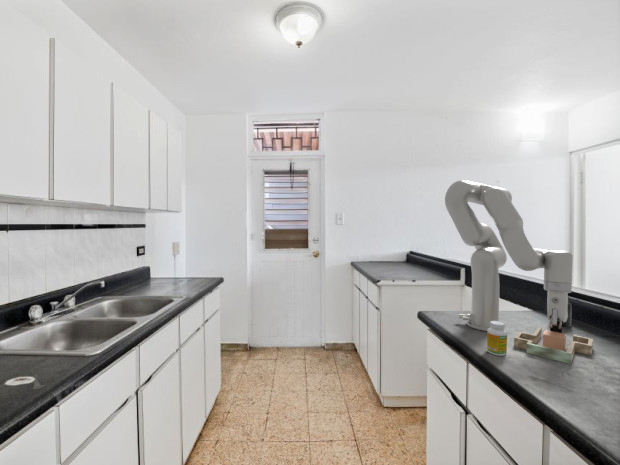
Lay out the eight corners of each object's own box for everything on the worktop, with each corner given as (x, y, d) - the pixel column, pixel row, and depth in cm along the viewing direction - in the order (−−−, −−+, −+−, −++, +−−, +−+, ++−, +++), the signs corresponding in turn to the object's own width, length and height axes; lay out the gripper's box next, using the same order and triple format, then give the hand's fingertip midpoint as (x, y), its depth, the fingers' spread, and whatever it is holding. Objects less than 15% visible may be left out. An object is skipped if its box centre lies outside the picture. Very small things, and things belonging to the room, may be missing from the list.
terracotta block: (542, 347, 104) (543, 334, 104) (544, 342, 108) (545, 329, 108) (563, 352, 100) (564, 338, 100) (565, 347, 104) (565, 333, 104)
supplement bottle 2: (567, 323, 128) (569, 294, 128) (573, 328, 122) (574, 298, 121) (547, 320, 131) (548, 292, 130) (552, 325, 125) (553, 296, 124)
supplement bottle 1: (499, 357, 96) (500, 326, 96) (483, 351, 101) (484, 321, 100) (510, 354, 99) (511, 324, 98) (493, 347, 103) (494, 319, 103)
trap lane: (511, 349, 102) (512, 340, 102) (525, 332, 117) (525, 324, 117) (589, 368, 89) (589, 358, 89) (592, 346, 104) (593, 338, 104)
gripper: (569, 291, 99) (567, 348, 99) (573, 284, 109) (571, 335, 110) (540, 288, 104) (538, 342, 105) (546, 281, 115) (545, 330, 115)
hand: (555, 338), depth 107 cm, fingers closed
